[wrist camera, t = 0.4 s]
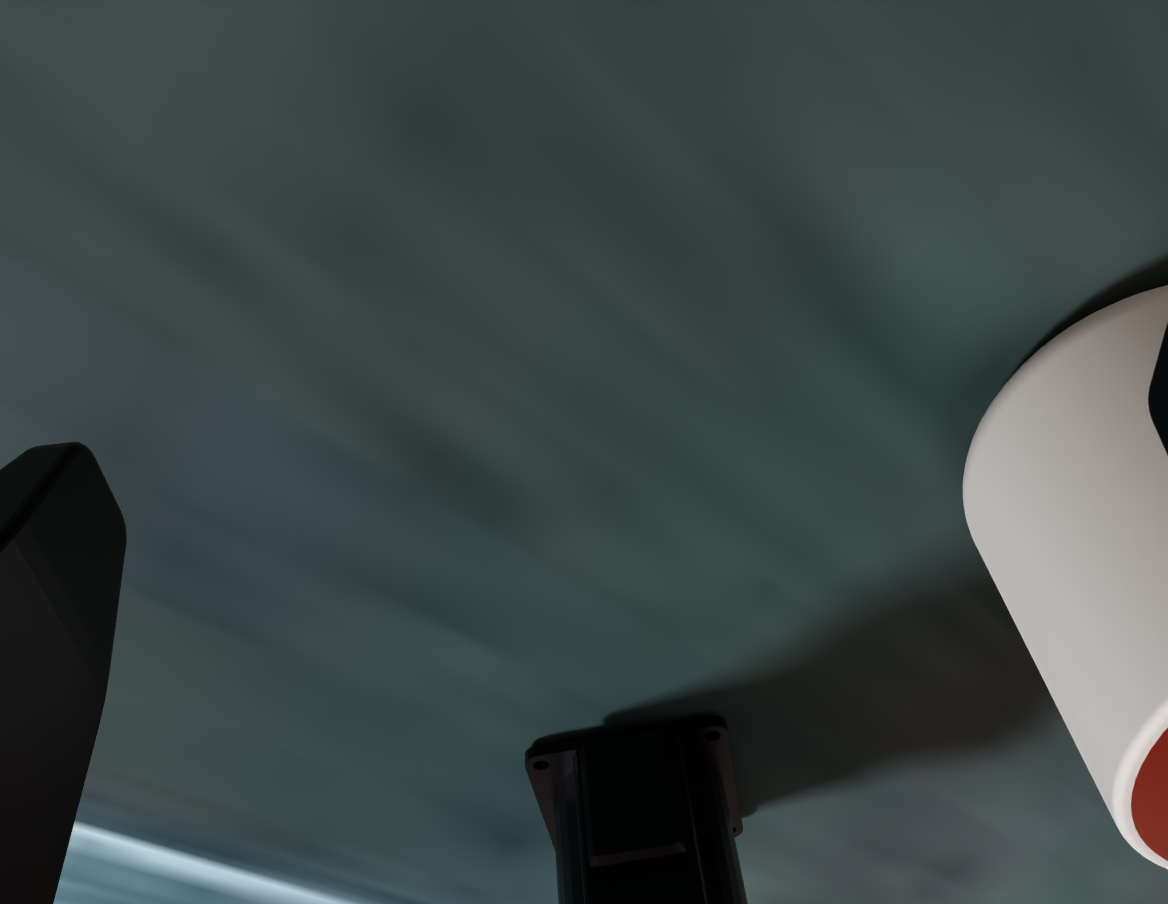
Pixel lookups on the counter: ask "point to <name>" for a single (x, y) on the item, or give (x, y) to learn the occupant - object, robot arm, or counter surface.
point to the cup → (1088, 546)
